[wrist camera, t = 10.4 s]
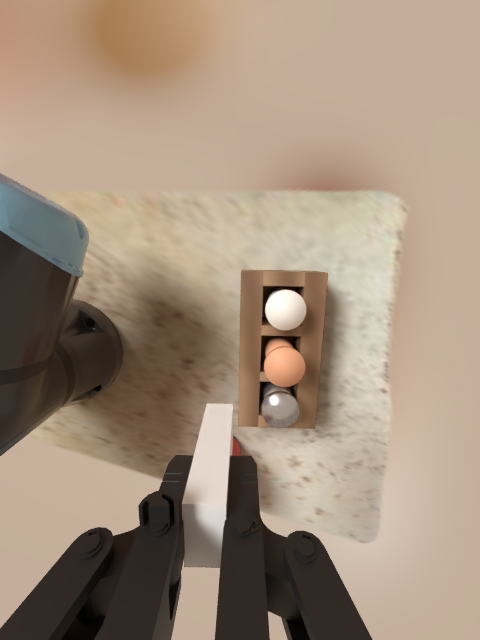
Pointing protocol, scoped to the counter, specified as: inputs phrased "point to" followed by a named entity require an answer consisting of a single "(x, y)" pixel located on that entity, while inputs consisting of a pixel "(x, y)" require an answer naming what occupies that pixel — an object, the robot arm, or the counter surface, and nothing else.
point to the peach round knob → (283, 362)
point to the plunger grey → (279, 405)
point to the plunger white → (284, 309)
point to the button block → (260, 330)
